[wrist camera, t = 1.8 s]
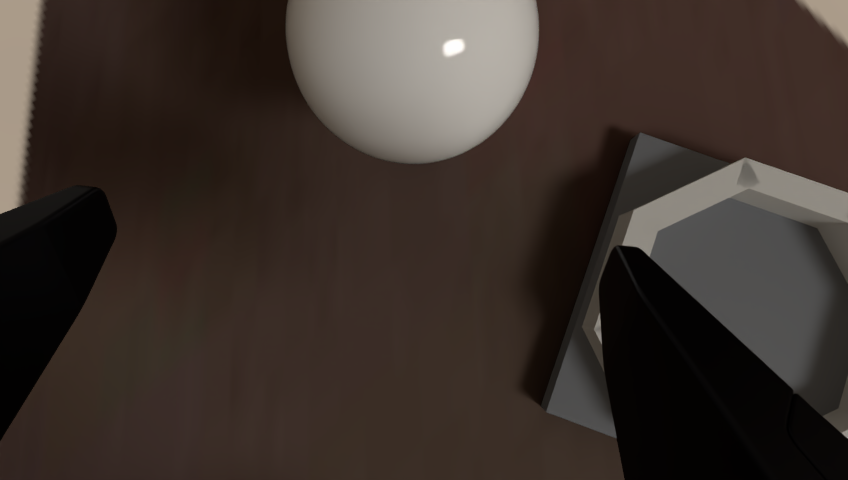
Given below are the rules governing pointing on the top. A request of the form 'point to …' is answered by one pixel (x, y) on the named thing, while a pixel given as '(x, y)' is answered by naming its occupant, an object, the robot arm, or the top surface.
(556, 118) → the top surface
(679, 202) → the bulb stand
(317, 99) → the lightbulb
